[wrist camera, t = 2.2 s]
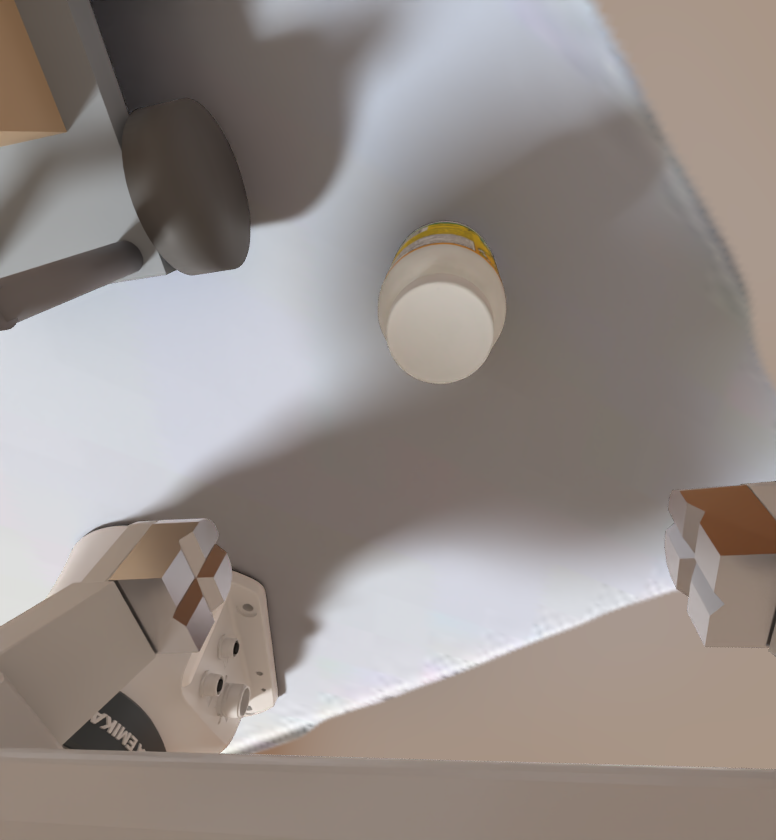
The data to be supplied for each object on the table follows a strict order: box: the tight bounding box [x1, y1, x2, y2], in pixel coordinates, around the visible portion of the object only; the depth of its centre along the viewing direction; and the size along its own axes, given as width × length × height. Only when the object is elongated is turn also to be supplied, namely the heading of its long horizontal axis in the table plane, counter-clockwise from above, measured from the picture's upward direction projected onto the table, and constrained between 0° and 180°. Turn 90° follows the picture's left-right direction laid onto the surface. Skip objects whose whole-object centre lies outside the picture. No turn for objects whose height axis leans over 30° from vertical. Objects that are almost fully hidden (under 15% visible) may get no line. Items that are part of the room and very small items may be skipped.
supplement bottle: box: [378, 221, 506, 384], centre depth 23 cm, size 5×5×10 cm
